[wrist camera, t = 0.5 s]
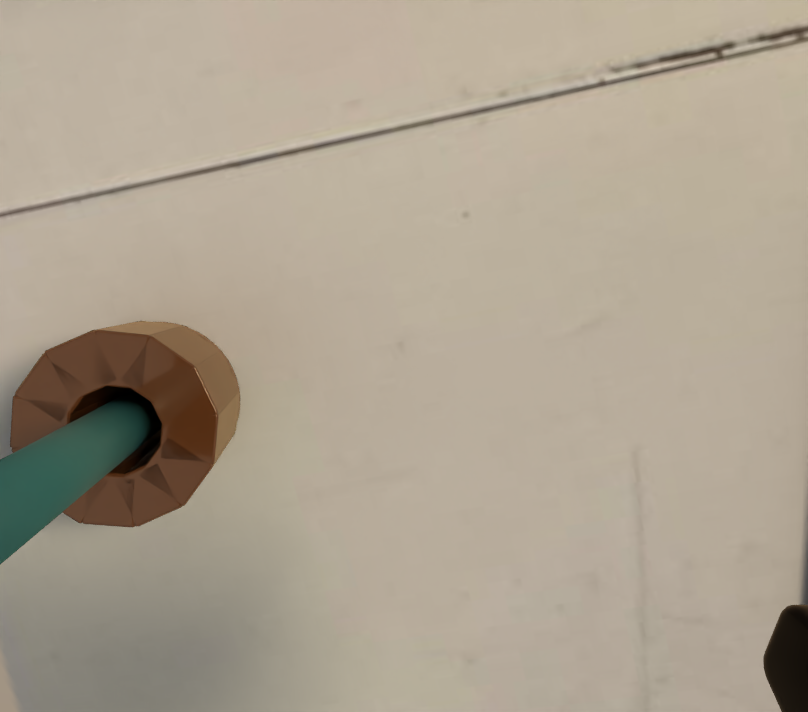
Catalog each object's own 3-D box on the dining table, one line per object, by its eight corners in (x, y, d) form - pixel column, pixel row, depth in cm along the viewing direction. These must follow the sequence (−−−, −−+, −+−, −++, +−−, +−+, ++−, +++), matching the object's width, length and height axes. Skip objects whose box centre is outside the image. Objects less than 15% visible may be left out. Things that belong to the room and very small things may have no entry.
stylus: (187, 414, 21) (-40, 615, 8) (145, 432, 21) (-148, 664, 8) (166, 373, 21) (-95, 515, 8) (124, 391, 21) (-208, 565, 8)
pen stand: (266, 438, 22) (249, 477, 18) (122, 502, 22) (67, 559, 17) (198, 295, 21) (163, 299, 17) (48, 361, 21) (-27, 381, 17)
